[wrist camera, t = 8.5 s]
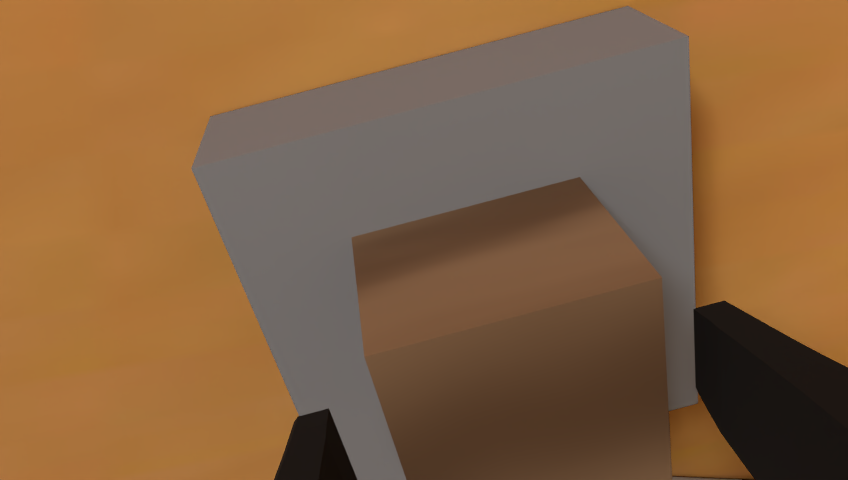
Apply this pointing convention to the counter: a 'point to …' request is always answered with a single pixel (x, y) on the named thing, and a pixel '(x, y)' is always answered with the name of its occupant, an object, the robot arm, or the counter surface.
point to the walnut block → (517, 341)
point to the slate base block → (449, 186)
